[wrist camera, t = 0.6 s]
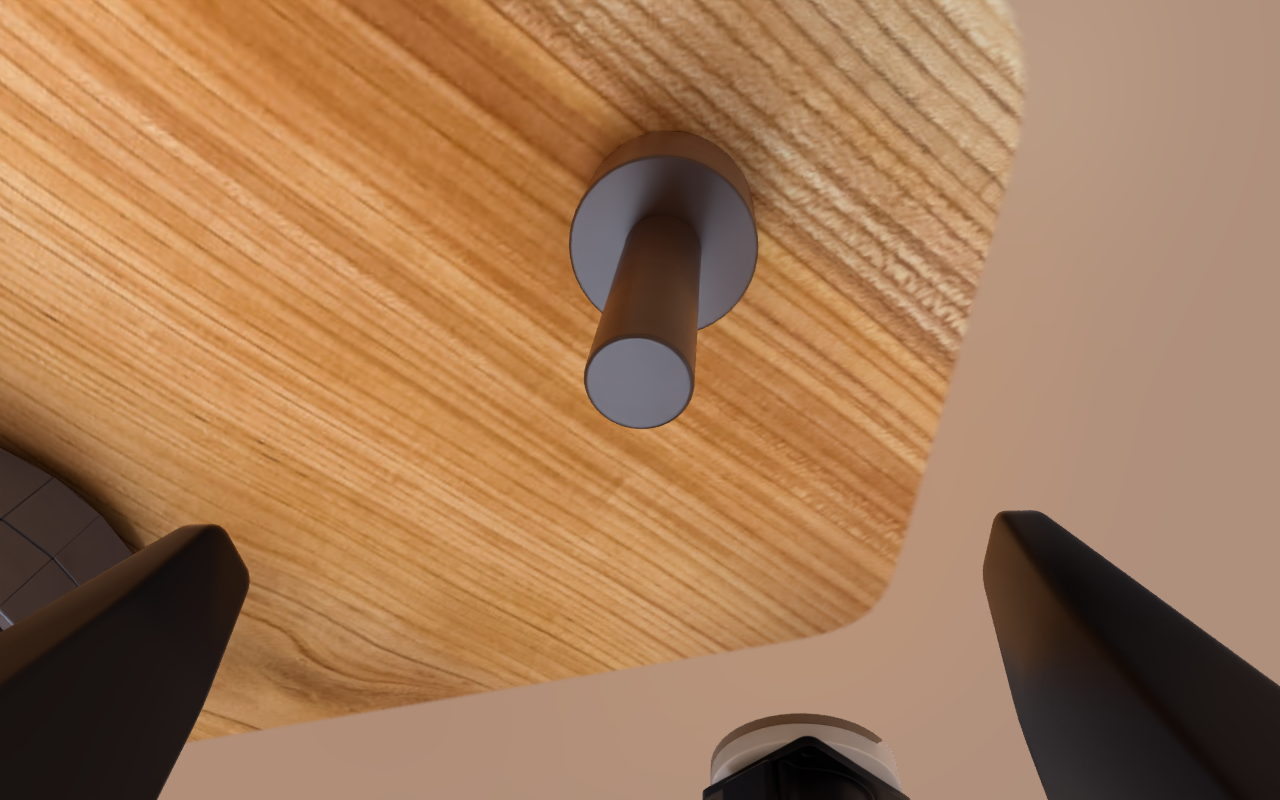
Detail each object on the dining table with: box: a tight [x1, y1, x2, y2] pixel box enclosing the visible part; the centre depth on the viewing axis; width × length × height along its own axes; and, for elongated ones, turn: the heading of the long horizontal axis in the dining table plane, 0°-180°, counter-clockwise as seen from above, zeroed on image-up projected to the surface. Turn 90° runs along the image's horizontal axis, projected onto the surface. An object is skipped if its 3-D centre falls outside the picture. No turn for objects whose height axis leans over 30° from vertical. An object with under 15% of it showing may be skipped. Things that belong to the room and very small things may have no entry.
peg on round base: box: [569, 131, 758, 429], centre depth 15 cm, size 4×4×8 cm
